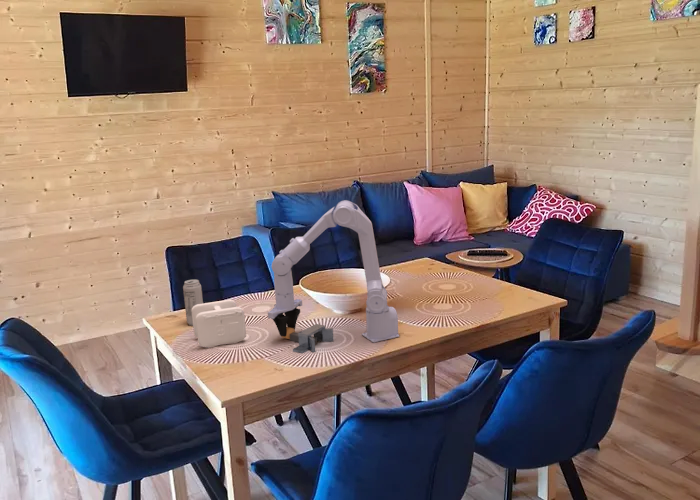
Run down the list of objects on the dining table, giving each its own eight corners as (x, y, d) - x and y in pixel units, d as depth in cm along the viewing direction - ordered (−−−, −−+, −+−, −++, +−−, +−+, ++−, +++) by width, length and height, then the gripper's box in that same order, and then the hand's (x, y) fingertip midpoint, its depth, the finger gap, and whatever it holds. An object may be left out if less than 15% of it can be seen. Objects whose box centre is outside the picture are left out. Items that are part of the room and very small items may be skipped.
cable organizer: (240, 331, 214) (237, 298, 211) (247, 342, 204) (244, 307, 202) (194, 339, 209) (190, 305, 206) (198, 350, 199) (195, 314, 197)
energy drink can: (208, 322, 224) (204, 280, 221) (194, 327, 220) (189, 285, 216) (197, 319, 228) (193, 278, 225) (183, 324, 224) (178, 282, 220)
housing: (338, 338, 204) (337, 323, 203) (309, 355, 192) (308, 339, 191) (322, 335, 207) (321, 320, 206) (293, 351, 195) (291, 336, 194)
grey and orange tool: (318, 342, 202) (317, 331, 201) (311, 346, 199) (310, 335, 198) (285, 335, 209) (285, 324, 208) (278, 338, 206) (277, 328, 205)
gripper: (289, 284, 210) (291, 324, 214) (259, 297, 199) (262, 338, 202) (306, 287, 207) (308, 327, 210) (276, 300, 195) (279, 342, 198)
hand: (287, 333), depth 206 cm, fingers closed on grey and orange tool, 4 cm apart
